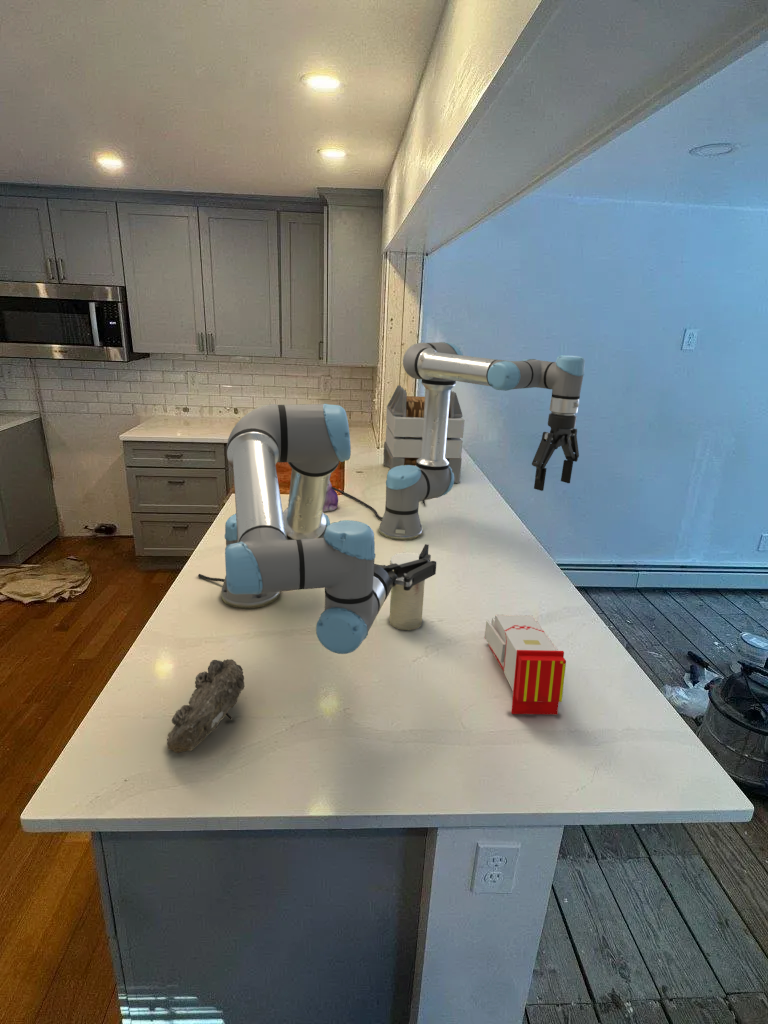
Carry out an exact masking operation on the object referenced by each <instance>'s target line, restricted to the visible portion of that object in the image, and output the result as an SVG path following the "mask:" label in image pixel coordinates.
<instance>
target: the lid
mask: <svg viewBox="0 0 768 1024" xmlns="http://www.w3.org/2000/svg"><path fill="white" fill-rule="evenodd" d="M419 555H420V553H417V552H409V551H408V552H407V551H406V552H403V551H402V552H397V553H395V554H393V555H392V556H391V557H390V559H389V565H391V564H395V563H396V564H398V565H400V564H404V563H408V562H411V561H415V560H419Z"/></svg>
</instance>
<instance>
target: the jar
mask: <svg viewBox="0 0 768 1024" xmlns="http://www.w3.org/2000/svg"><path fill="white" fill-rule="evenodd" d="M393 571H394V570H393ZM425 583H426V579H425V580H423V581H421V582H419V583H418V584H416V585H414V586H412V588H411V589H410V590H408V591H406V590H404V586H402V585H397V584H396V585H395V586H394V587H392V588H391V591H390V600H389V617H388V618H389V622H388V623H389V625H391V626H392V628H395V629H396V630H400V631H413V630H416V629H419V628H420V627H421V626H422V621H423V610H424V609H423V608H424V597H425V596H424V595H425Z"/></svg>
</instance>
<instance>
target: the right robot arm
mask: <svg viewBox="0 0 768 1024" xmlns="http://www.w3.org/2000/svg"><path fill="white" fill-rule="evenodd" d="M585 365H586V360H585V358H584V357H582V356H578V355H566V354H565V355H564V354H563V355H558V356H557V357H556V360H555V361H549V360H541V359H536V358H524V359H521V360H506V359H505V360H504V359H503V360H502V359H496V358H487V357H479V356H471V355H464V354H463V352H462V350H461V349H460V347H459V346H457V345H456V344H455V343H451V342H445V341H443V342H442V341H441V342H440V341H439V342H438V341H437V342H417V343H414V344H412V345H411V346H409V347H408V348H407V350H406V351H405V353H404V355H403V358H402V366H403V369H404V372H405V373H406V374H407V375H408V376H409V377H411V378H412V379H415V380H421V385H422V386H423V387H424V389H425V392H424V397H425V404H424V419H423V434H422V449H421V457H420V458H418V459H417V461H416V466H413V465H401V466H396V467H394V468H392V469H390V468H389V470H388V472H387V474H386V479H385V504H384V505H385V507H384V508H385V509H384V513H383V515H382V516H380V515H379V514H378V512H377V510H376V509H375V508H374V507H372V506H371V505H369V504H368V503H366V502H365V501H363V500H361V499H359V498H357V497H356V496H354V495H352V494H349V493H348V492H345V491H343V490H341V489H338V488H337V487H335V486H332V489H334V490H335V491H336V492H338V493H340V494H342V495H344V496H346V497H349V498H350V499H352V500H354V501H356V502H358V503H360V504H361V505H363V506H365V507H366V508H368V509H370V510H371V512H373V513H374V515H375V517H376V518H377V519H379V520H381V522H379V526H378V533H379V534H380V535H381V536H382V537H385V538H387V539H389V540H395V541H410V540H415V539H418V538H420V537H421V536H422V535H423V525H422V524H421V518H420V515H419V507H420V506H419V505H420V502H423V501H424V500H425V501H427V500H431V499H437V498H440V497H443V496H446V495H448V493H450V492H451V490H452V489H453V488H454V487H453V486H454V484H455V483H454V473H452V469H451V467H450V466H449V462H448V461H447V459H446V458H445V453H446V441H447V428H448V416H449V404H450V392H451V391H452V389H453V388H454V387H455V386H456V384H457V382H461V383H465V384H473V385H479V386H487V387H491V388H492V389H494V390H496V391H503V392H504V391H511V390H520V389H532V388H533V389H534V388H539V389H546V390H551V398H550V404H549V413H548V418H547V419H548V420H547V426H548V427H549V428H550V431H549V432H548V431H543V432H542V435H541V440H540V442H539V445H538V447H537V449H536V452H535V454H534V457H533V460H532V461H531V466H533V467H535V475H534V477H535V478H534V485H533V489H534V490H537V491H539V492H543V491H544V489H545V484H546V483H545V482H546V476H547V468H546V466H547V465H548V463H549V461H550V459H551V457H552V456H553V454H554V453H555V451H556V450H557V449H558V448H560V447H561V449H562V452H563V455H564V458H565V459H563V463H562V468H561V469H562V470H561V475H560V482H562V483H566V484H571V478H572V472H573V466H574V463H576V462H578V461H579V457H580V453H579V444H578V428H576V423H577V419H578V416H577V414H578V412H579V411H578V410H579V406H580V397H581V391H582V385H583V380H584V376H585Z"/></svg>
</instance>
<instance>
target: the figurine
mask: <svg viewBox="0 0 768 1024" xmlns="http://www.w3.org/2000/svg"><path fill="white" fill-rule="evenodd" d="M331 476H332V473H331V474H330V475H329V481H328V486H327V491H326V496H325V501H324V507H323V512H331V511H335V510H336V509H338V506H339V496H338V493H337V491H335V490H334V489H332V487H333V485H332V482H331V480H330V479H331Z"/></svg>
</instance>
